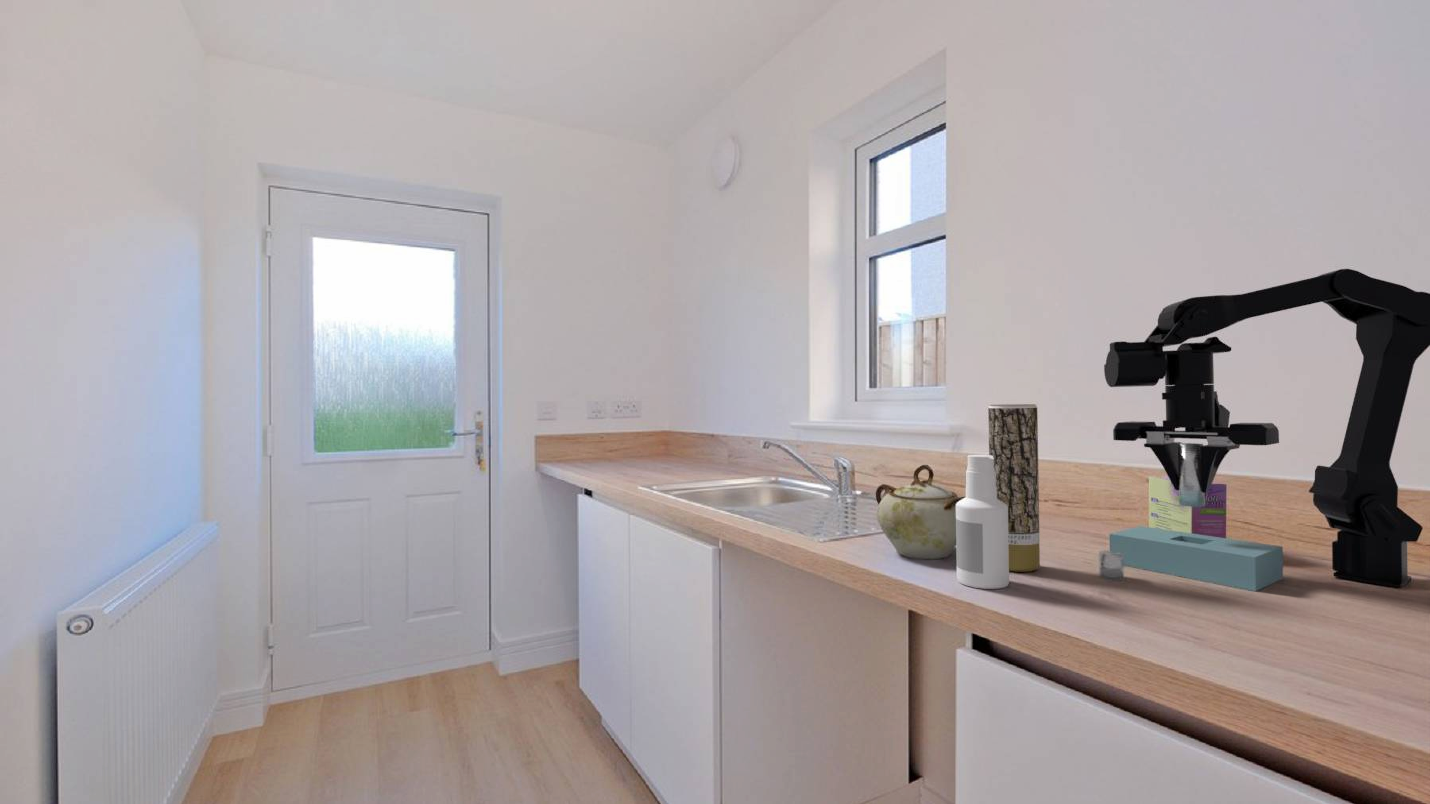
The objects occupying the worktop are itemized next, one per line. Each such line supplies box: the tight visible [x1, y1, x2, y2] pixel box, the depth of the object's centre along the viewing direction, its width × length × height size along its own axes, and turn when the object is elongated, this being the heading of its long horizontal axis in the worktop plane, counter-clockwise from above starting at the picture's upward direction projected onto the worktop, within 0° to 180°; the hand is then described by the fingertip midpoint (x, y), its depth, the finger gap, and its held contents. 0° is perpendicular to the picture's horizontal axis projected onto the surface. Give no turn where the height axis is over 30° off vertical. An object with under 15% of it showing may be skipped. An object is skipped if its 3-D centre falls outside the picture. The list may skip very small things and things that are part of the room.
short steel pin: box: [1098, 550, 1125, 581], centre depth 90 cm, size 3×3×4 cm
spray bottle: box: [955, 454, 1010, 590], centre depth 89 cm, size 7×7×18 cm
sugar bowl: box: [875, 464, 966, 560], centre depth 106 cm, size 20×15×15 cm
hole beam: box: [1109, 525, 1284, 592], centre depth 93 cm, size 18×10×4 cm, turn 32°
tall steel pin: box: [1178, 442, 1205, 507], centre depth 92 cm, size 3×3×9 cm
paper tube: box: [987, 403, 1041, 573], centre depth 96 cm, size 7×7×25 cm
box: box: [1148, 475, 1227, 538], centre depth 105 cm, size 10×6×12 cm, turn 179°
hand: (1191, 491), depth 92 cm, fingers closed on tall steel pin, 3 cm apart
